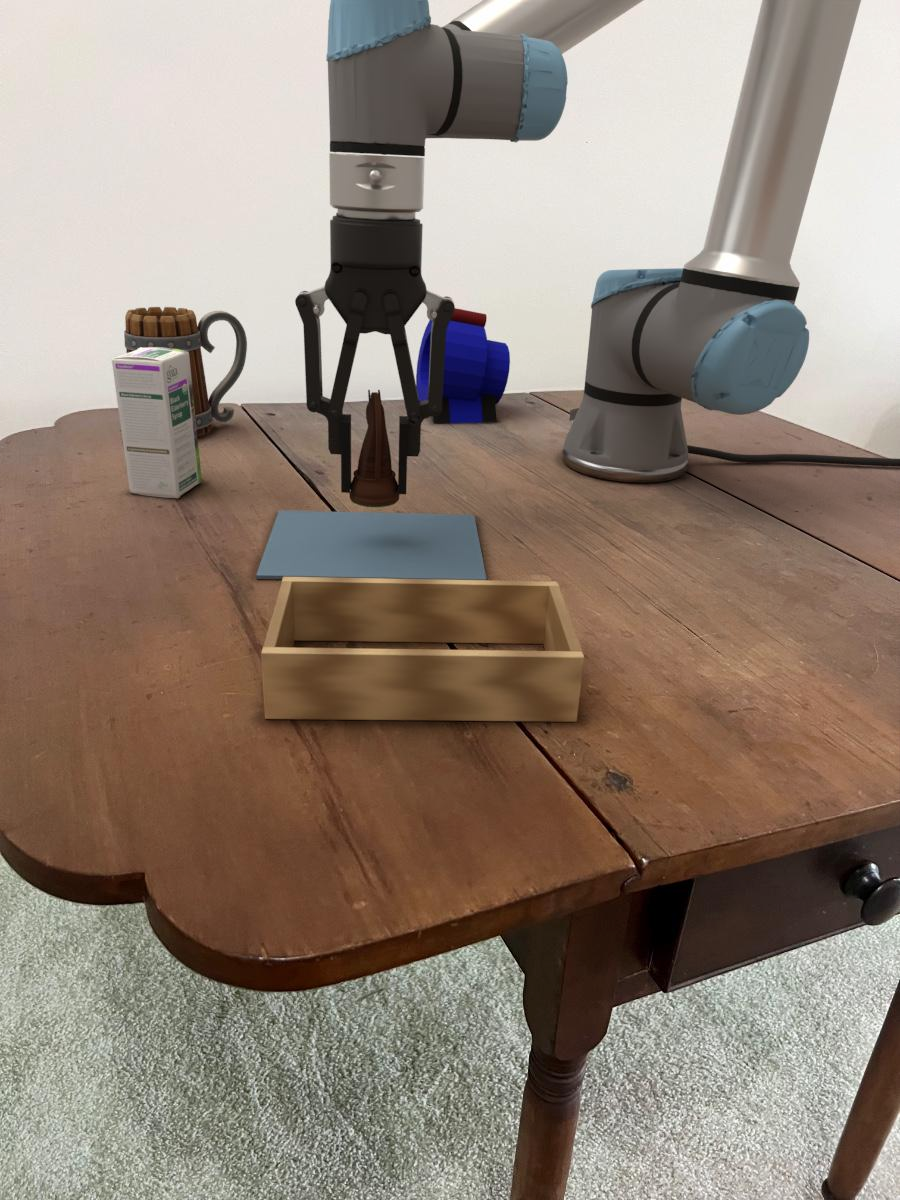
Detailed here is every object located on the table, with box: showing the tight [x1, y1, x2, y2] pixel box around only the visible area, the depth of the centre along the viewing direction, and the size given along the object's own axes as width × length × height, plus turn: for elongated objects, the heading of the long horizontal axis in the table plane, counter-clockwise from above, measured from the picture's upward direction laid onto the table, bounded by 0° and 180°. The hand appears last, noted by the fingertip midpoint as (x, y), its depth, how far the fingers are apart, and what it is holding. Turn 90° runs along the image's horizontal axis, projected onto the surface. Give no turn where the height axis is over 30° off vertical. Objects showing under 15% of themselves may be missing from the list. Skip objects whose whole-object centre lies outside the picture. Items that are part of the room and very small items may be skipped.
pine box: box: [260, 577, 585, 723], centre depth 65 cm, size 21×12×5 cm, turn 93°
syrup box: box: [111, 347, 203, 499], centre depth 96 cm, size 6×6×14 cm
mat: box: [255, 509, 488, 581], centre depth 87 cm, size 20×16×1 cm
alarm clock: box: [415, 307, 511, 425], centre depth 131 cm, size 12×12×15 cm
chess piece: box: [349, 389, 400, 508], centre depth 83 cm, size 5×5×10 cm
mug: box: [123, 306, 248, 439], centre depth 116 cm, size 16×11×15 cm
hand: (374, 488), depth 84 cm, fingers closed on chess piece, 4 cm apart
